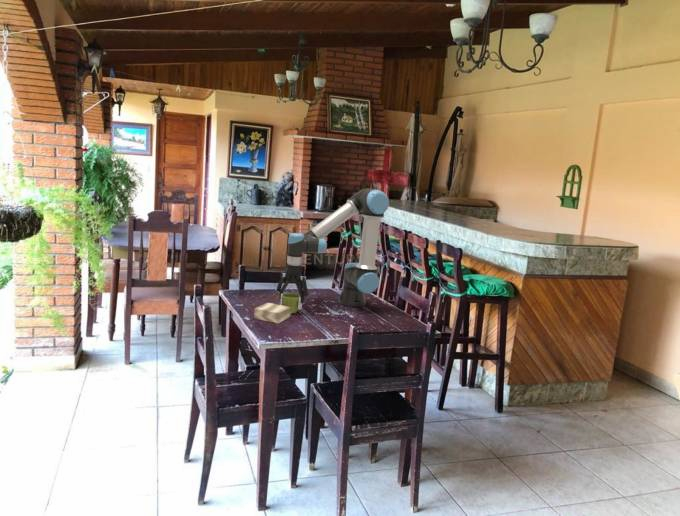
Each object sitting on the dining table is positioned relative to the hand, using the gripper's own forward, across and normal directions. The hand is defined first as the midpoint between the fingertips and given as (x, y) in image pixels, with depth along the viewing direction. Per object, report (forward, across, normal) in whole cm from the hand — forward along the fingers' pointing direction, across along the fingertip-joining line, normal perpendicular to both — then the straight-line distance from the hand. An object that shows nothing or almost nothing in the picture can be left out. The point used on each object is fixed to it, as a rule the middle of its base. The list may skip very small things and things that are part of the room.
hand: (290, 307), depth 269 cm
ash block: (+3, -3, -14) cm, 15 cm away
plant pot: (+3, 0, 0) cm, 3 cm away
